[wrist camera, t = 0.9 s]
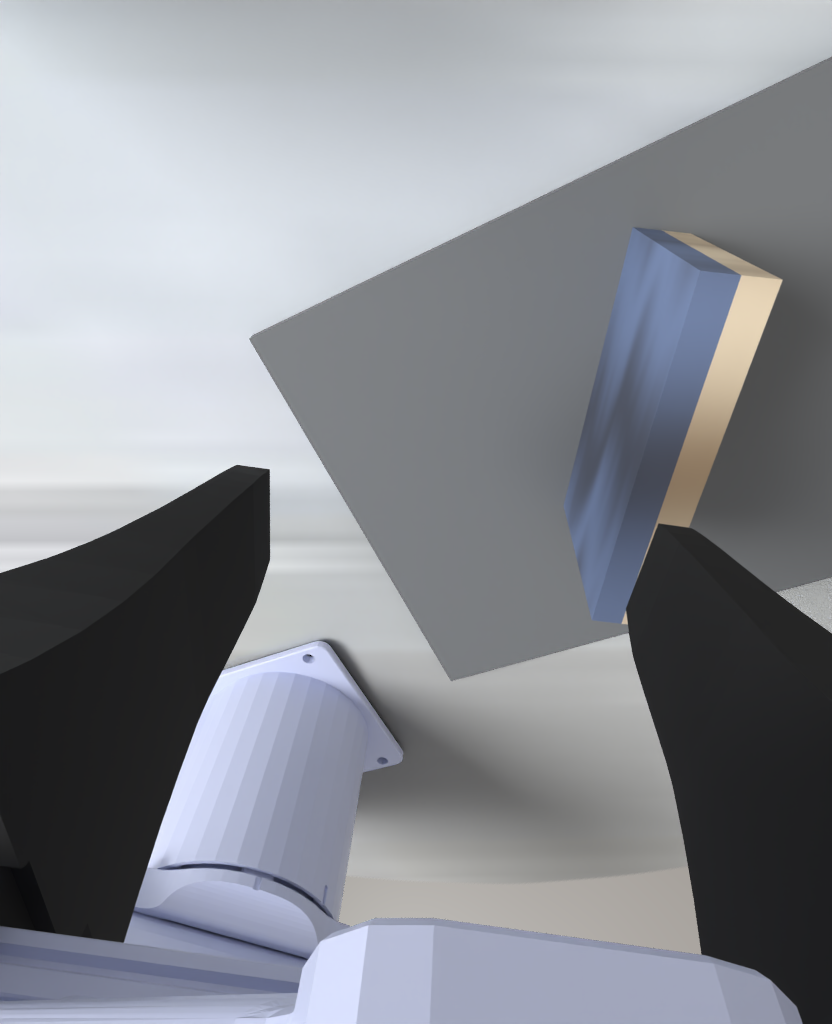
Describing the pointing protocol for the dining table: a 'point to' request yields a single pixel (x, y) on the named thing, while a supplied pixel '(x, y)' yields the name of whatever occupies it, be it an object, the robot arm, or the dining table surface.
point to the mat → (572, 380)
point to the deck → (659, 402)
